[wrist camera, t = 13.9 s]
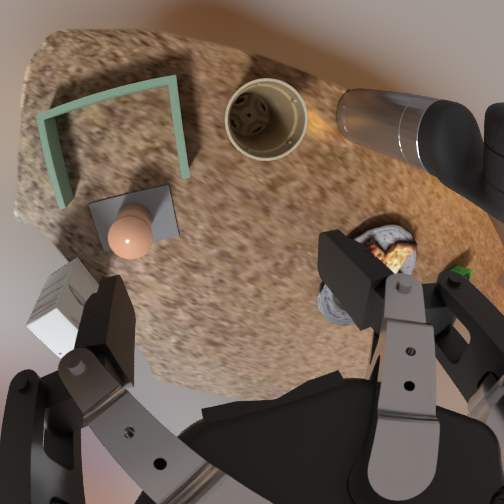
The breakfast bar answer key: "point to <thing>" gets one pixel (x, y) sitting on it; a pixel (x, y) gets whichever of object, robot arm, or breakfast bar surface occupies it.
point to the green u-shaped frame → (48, 117)
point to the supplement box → (62, 307)
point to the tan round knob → (131, 232)
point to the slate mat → (151, 198)
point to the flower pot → (266, 119)
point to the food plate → (388, 251)
